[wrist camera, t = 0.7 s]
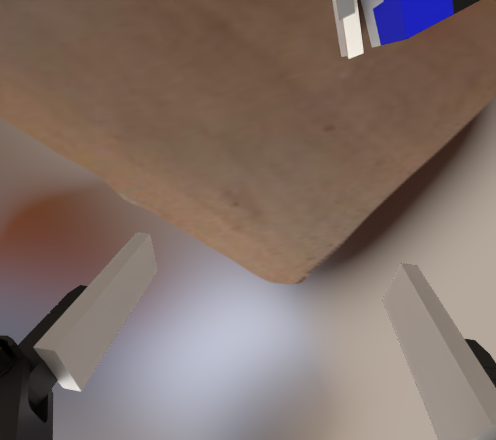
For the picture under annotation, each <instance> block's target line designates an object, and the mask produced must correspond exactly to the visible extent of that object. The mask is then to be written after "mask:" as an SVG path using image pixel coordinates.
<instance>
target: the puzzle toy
mask: <svg viewBox="0 0 496 440" xmlns="http://www.w3.org/2000/svg"><path fill="white" fill-rule="evenodd" d="M478 1H480V0H361V3H362V7H363V12H364V16H365V20H366V24H367V28H368V33H369V37H370V41H371V45H372V47H376V46H380V45H384V44H389V43H393V42H397V41H401V40H405V39H408V38H410V37H411V36H413V35H415V34H417V33H419V32H421V31H423V30H425V29H427V28H429V27H430V26H432V25H434V24H436V23H438V22H440V21H442V20H444V19H446V18H447V17H449V16H451V15H453V14H455V13H457V12H459V11H461V10H463V9H464V8H466V7H468V6H470V5H472V4H474V3H476V2H478Z"/></svg>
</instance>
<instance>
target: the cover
mask: <svg viewBox="0 0 496 440" xmlns="http://www.w3.org/2000/svg"><path fill="white" fill-rule="evenodd" d="M336 3H337V10H338V17H339V21H340V20H342V27H343V33H344V40H345V47H346V53H347V56H348V58H349V59H350V58H352V57H355V56H358V55H360V54H363V45H362V37H361V28H360V20H359V12H358V4H357V0H336Z"/></svg>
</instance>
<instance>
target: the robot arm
mask: <svg viewBox="0 0 496 440" xmlns="http://www.w3.org/2000/svg"><path fill="white" fill-rule="evenodd" d="M156 273H157V266H156V260H155V256H154V251H153V247H152V241H151V237H150V234H148V233H139V232H137V233H136V234H135V235H134V236H133V237H132V238H131V239H130V240H129V241H128V243H127V244H126V245H125V246H124V247H123V248H122V249H121V250H120V252H119V253H118V254H117V255H116V256H115V257H114V258H113V259H112V260H111V261H110V263H109V264H108V265H107V266H106V267H105V268H104V269H103V270H102V272H100V274H99V275H98V276H97V277H96V278H95V279H94V280H93V281H92V282H91V284H90V285H89V286H82V285H80V286H78V287H77V288H75V289H74V290H72V291H71V292H69V293H68V294H67V295H66V296H65V297H64V298H63V299H62V300H61V301H60V302H59V303H58V305H56V306H55V307H54V308H53V309H52V310H51V311H50V314H47V316H46V317H45V318H44V319H43V320H42V321H41V322H40V323H39V324H38V325H37V326H36V327H35V328H34V329H33V330H32V331H31V332H30V333H29V334H28V335H27V336H26V337H25V338H24V340H23V341H22V342H21V343H20V344H19V345H17V344H16V343H15V342H14V340H13V339H12V338H10V337H8V336H0V440H53V392H52V387H53V386H54V385H55V383H56V382H57V381H58V382H59V383H60V385H61V386H62V387H63V388H65V389H71V390H76V391H82V390H83V388H84V387H85V385H86V383H87V382H88V380H89V379H90V377H91V376H92V374H93V372H94V370H95V369H96V368H97V366H98V364H99V363H100V361H101V360H102V358H103V357H104V355H105V353H106V351H107V350H108V349H109V347H110V345H111V344H112V342H113V341H114V339H115V338H116V336H117V334H118V333H119V331H120V330H121V328H122V326H123V325H124V323H125V322H126V320H127V319H128V317H129V315H130V314H131V312H132V311H133V309H134V307H135V306H136V304H137V303H138V301H139V299H140V298H141V296H142V295H143V293H144V292H145V290H146V288H147V287H148V285H149V284H150V282H151V280H152V279H153V277H154V276H155V274H156ZM383 303H384V305H385V308H386V310H387V313H388V315H389V318H390V320H391V323H392V325H393V328H394V330H395V333H396V335H397V337H398V340H399V343H400V345H401V348H402V350H403V353H404V355H405V358H406V360H407V363H408V365H409V367H410V370H411V373H412V375H413V378H414V380H415V383H416V385H417V388H418V390H419V393H420V395H421V398H422V400H423V403H424V405H425V408H426V410H427V412H428V415H429V418H430V420H431V423H432V425H433V427H434V430H435V433H436V435H437V438H438V440H496V363H495V361H494V360H493V358H492V357H491V355H490V354H489V353H488V352H487V351H486V350H485V349H484V348H483V347H482V346H480V345H479V344H478V343H477V342H476V341H475V340H469V339H464V338H463V336H462V335H461V333H460V332H459V330H458V328H457V327H456V325H455V324H454V322H453V321H452V319H451V318H450V316H449V314H448V313H447V311H446V310H445V308H444V307H443V305H442V304H441V302H440V300H439V299H438V297H437V296H436V294H435V293H434V291H433V290H432V288H431V286H430V285H429V283H428V282H427V280H426V279H425V277H424V276H423V274H422V272H421V271H420V269H419V268H418V266H417V265H411V264H402V263H401V264H400V266H399V268H398V270H397V272H396V274H395V276H394V278H393V280H392V282H391V284H390V286H389V288H388V290H387V292H386V294H385V296H384V299H383Z"/></svg>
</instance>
